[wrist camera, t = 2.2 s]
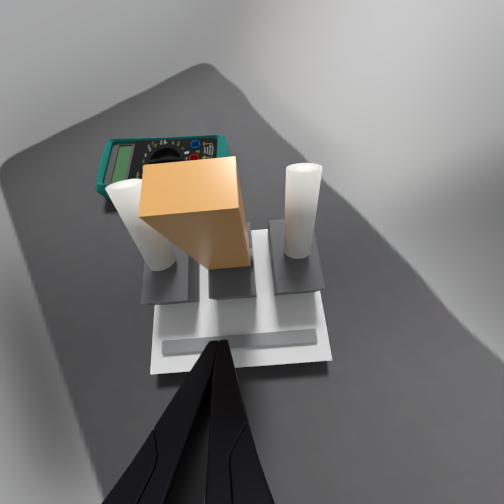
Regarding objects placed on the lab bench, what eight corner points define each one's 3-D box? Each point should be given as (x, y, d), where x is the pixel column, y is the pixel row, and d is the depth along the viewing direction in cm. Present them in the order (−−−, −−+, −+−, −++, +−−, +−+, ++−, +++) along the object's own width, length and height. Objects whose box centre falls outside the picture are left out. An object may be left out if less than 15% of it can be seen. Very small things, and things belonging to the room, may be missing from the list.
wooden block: (253, 268, 15) (245, 207, 6) (207, 272, 15) (131, 217, 6) (251, 243, 15) (241, 156, 7) (207, 247, 16) (137, 165, 7)
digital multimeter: (231, 199, 23) (227, 183, 20) (108, 203, 23) (87, 188, 20) (232, 149, 25) (229, 129, 22) (119, 153, 25) (102, 134, 22)
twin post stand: (326, 356, 17) (422, 423, 7) (159, 369, 17) (17, 452, 7) (303, 224, 21) (345, 144, 11) (166, 237, 21) (79, 169, 11)
